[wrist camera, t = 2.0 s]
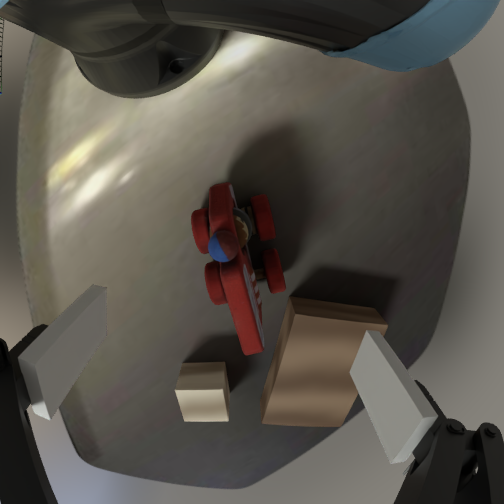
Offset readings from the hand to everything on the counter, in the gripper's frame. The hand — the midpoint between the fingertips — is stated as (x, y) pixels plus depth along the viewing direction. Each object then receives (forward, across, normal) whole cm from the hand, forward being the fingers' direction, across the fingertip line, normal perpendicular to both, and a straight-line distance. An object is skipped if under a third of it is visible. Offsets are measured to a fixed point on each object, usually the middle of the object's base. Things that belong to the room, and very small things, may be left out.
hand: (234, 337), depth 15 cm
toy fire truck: (+17, 0, 0) cm, 17 cm away
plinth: (+16, +11, -12) cm, 23 cm away
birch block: (+17, -1, -17) cm, 24 cm away
